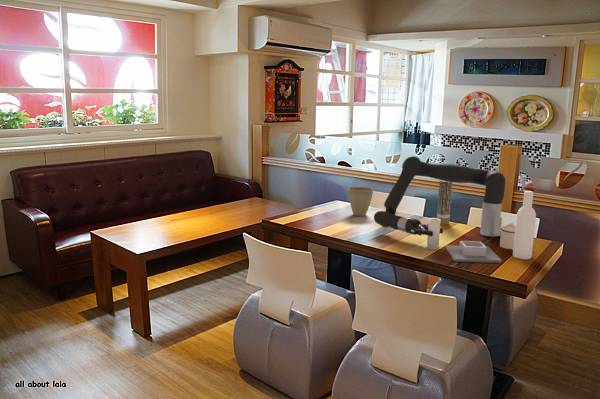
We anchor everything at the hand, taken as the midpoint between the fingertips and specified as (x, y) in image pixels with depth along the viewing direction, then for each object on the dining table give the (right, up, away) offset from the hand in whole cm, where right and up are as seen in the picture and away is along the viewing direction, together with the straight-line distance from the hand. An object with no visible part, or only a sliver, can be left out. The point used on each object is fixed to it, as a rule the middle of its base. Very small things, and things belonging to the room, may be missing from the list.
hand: (437, 232), depth 233 cm
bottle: (+36, -11, -8) cm, 38 cm away
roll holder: (+14, -10, -7) cm, 18 cm away
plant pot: (-28, +6, +67) cm, 73 cm away
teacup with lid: (+37, -7, +7) cm, 38 cm away
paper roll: (-1, -7, +3) cm, 8 cm away
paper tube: (+16, +2, +48) cm, 51 cm away
